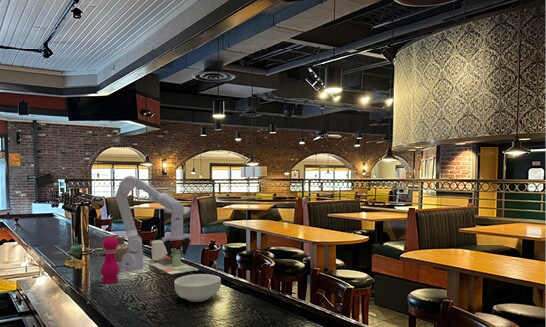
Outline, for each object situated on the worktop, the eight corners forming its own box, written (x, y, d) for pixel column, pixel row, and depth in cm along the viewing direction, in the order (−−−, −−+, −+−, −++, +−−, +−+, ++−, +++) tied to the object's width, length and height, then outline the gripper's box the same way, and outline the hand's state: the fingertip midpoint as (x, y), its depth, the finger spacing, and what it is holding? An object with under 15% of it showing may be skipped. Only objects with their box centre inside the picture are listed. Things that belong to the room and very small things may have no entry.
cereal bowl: (200, 289, 163) (200, 271, 163) (230, 297, 152) (230, 278, 152) (164, 299, 149) (164, 279, 150) (194, 309, 139) (194, 288, 139)
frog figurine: (82, 260, 211) (83, 232, 210) (89, 271, 196) (91, 241, 195) (61, 262, 205) (63, 233, 204) (67, 274, 191) (69, 243, 190)
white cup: (157, 263, 206) (157, 243, 206) (147, 261, 211) (148, 241, 211) (170, 260, 213) (170, 241, 213) (160, 258, 217) (160, 239, 217)
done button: (171, 260, 201) (171, 256, 201) (164, 261, 199) (164, 257, 199) (168, 259, 204) (168, 255, 204) (161, 260, 202) (161, 256, 202)
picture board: (199, 272, 189) (199, 265, 189) (170, 276, 181) (170, 269, 181) (176, 262, 209) (176, 256, 209) (149, 266, 200) (150, 259, 200)
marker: (178, 266, 195) (178, 251, 195) (170, 266, 196) (170, 250, 196) (182, 265, 199) (182, 249, 199) (174, 264, 200) (175, 248, 200)
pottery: (110, 263, 206) (111, 239, 206) (99, 254, 226) (99, 232, 226) (133, 260, 212) (134, 237, 212) (120, 252, 233) (121, 231, 233)
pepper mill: (112, 284, 168) (113, 235, 168) (96, 283, 169) (97, 234, 169) (122, 279, 175) (123, 232, 175) (107, 278, 176) (108, 232, 176)
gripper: (166, 229, 190) (165, 258, 190) (194, 226, 199) (194, 254, 199) (160, 227, 196) (159, 256, 195) (188, 225, 204) (187, 252, 204)
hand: (176, 255), depth 197 cm, fingers open, 7 cm apart
